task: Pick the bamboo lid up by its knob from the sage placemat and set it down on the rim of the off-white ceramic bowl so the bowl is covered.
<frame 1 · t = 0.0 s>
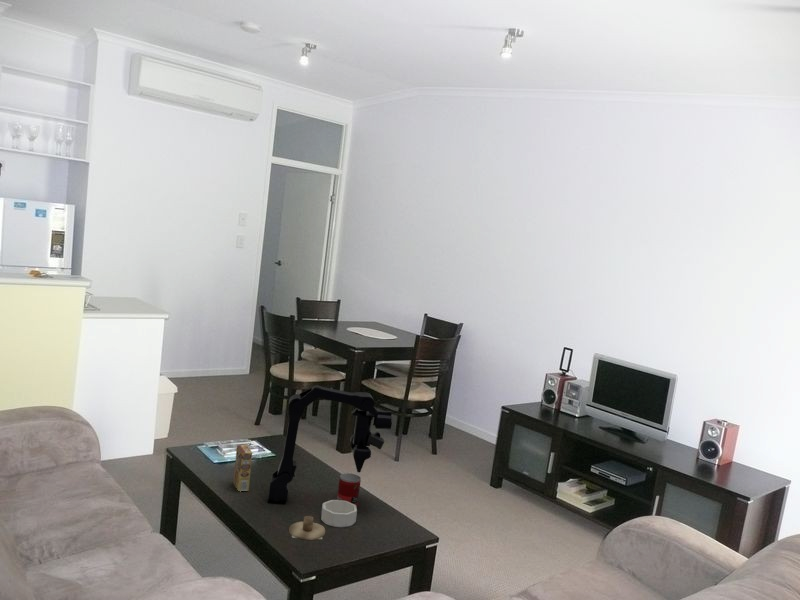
hand: (357, 467, 254), 15 cm above the table, fingers open, 9 cm apart
mat: (307, 532, 228), on the table
lid: (307, 531, 228), resting on mat
canned food: (346, 505, 255), on the table
candy box: (240, 488, 259), on the table
bowl: (338, 520, 241), on the table
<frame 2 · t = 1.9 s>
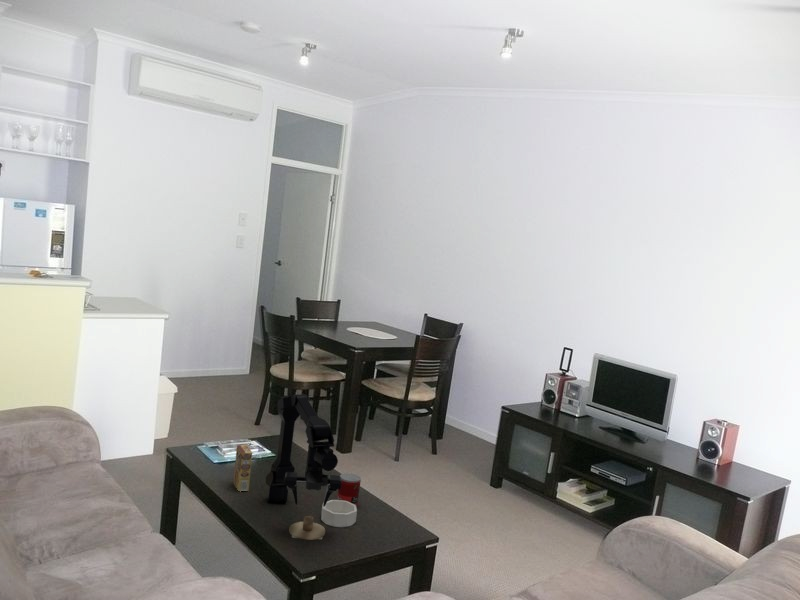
hand: (310, 505, 227), 10 cm above the table, fingers open, 9 cm apart
nothing on the table moved.
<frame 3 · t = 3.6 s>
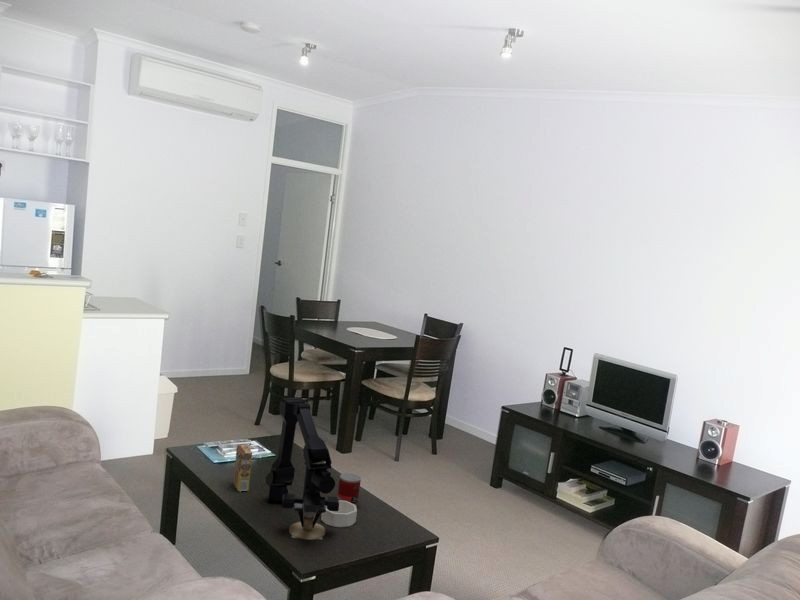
hand: (307, 526, 228), 2 cm above the table, fingers closed on lid, 3 cm apart
lid: (307, 531, 228), resting on mat, touching gripper
everything else where it was.
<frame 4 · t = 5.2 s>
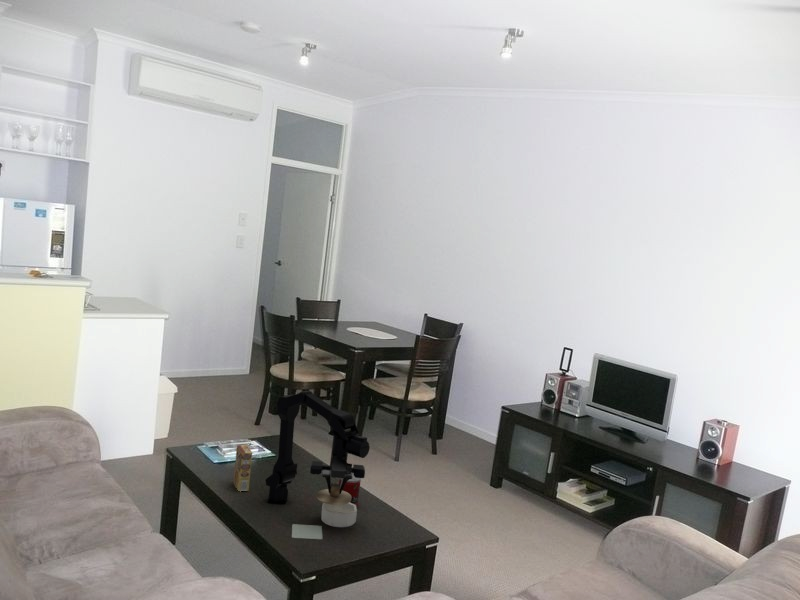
hand: (334, 493, 236), 11 cm above the table, fingers closed on lid, 3 cm apart
lid: (334, 497, 237), point 9 cm above the table, touching gripper
everything else where it was.
when the fingers open (7 cm above the table, at t = 6.7 s): lid stays where it is, resting on bowl.
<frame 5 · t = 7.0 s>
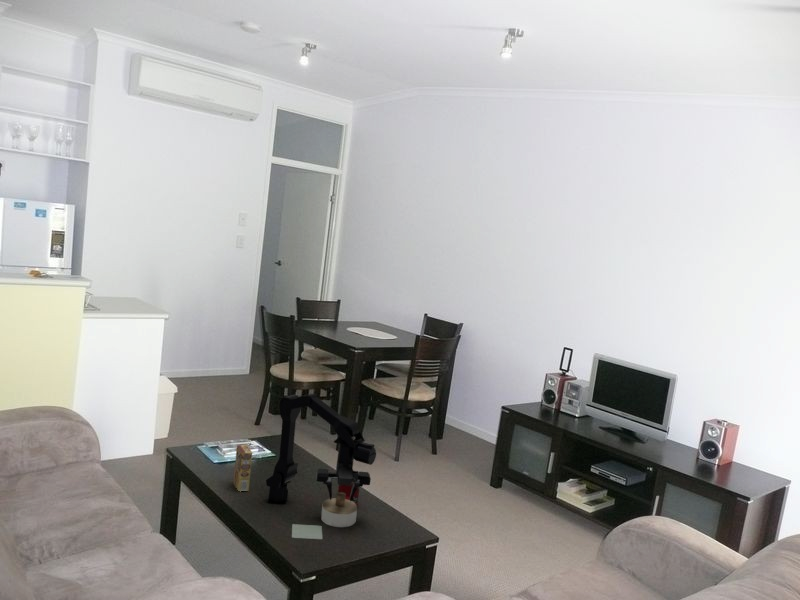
hand: (340, 500, 240), 7 cm above the table, fingers open, 7 cm apart
lid: (339, 507, 240), point 5 cm above the table, touching bowl
everything else where it was.
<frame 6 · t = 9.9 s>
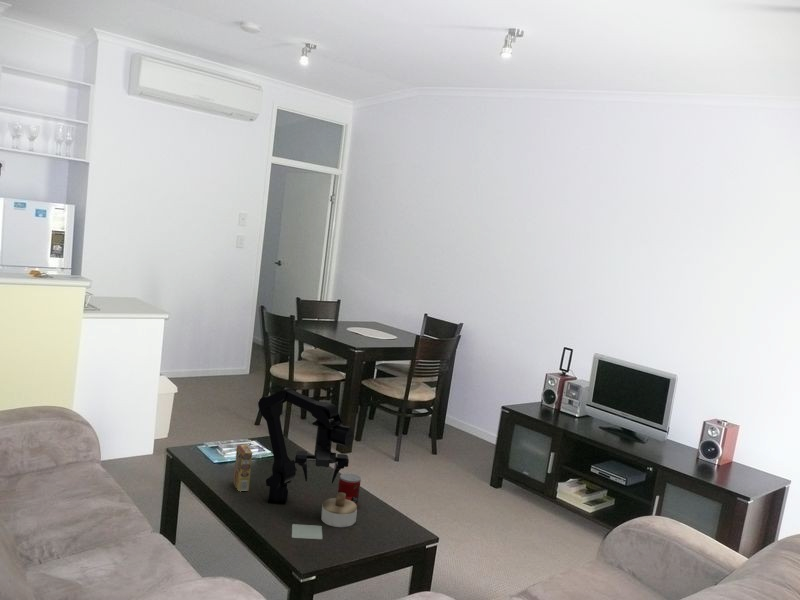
hand: (319, 482, 242), 12 cm above the table, fingers open, 9 cm apart
nothing on the table moved.
at the end: lid 0.1 cm off-centre on the bowl, point 5.0 cm above the bowl's base; lid tilted 0°; the gripper is holding nothing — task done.
